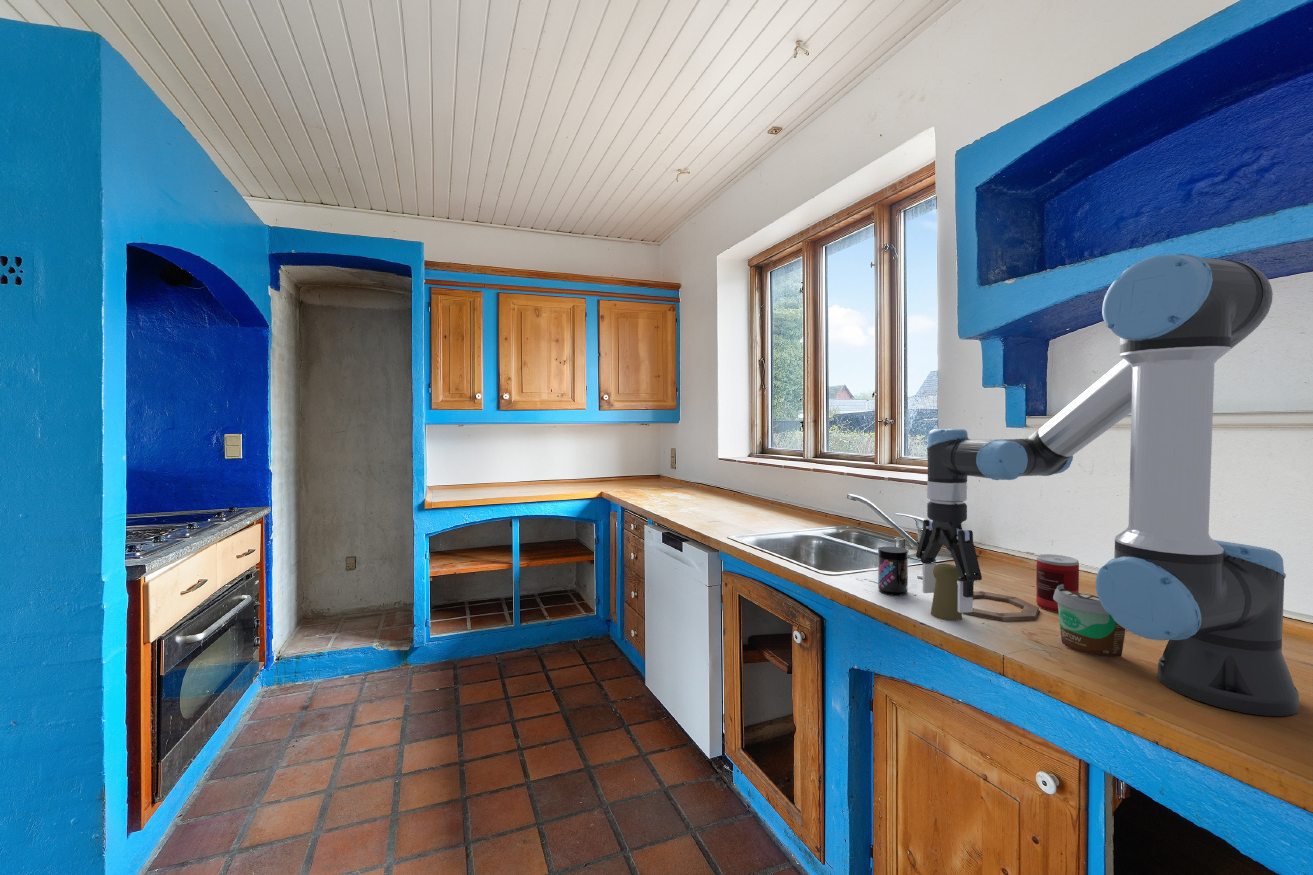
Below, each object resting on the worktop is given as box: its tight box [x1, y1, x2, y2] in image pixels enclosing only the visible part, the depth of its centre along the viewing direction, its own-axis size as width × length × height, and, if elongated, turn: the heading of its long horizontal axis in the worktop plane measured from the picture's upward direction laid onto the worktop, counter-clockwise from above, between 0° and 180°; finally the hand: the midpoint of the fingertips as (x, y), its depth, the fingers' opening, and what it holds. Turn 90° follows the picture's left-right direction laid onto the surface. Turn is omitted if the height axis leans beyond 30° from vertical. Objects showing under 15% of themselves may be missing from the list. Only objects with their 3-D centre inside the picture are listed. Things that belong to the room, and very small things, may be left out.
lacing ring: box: [963, 590, 1040, 622], centre depth 125 cm, size 17×17×1 cm
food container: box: [1053, 584, 1126, 658], centre depth 102 cm, size 12×6×10 cm, turn 19°
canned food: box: [1035, 553, 1080, 613], centre depth 124 cm, size 8×8×11 cm
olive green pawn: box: [930, 563, 963, 622], centre depth 119 cm, size 6×6×11 cm
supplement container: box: [877, 545, 909, 596], centre depth 136 cm, size 7×7×10 cm
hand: (946, 601), depth 120 cm, fingers open, 12 cm apart
